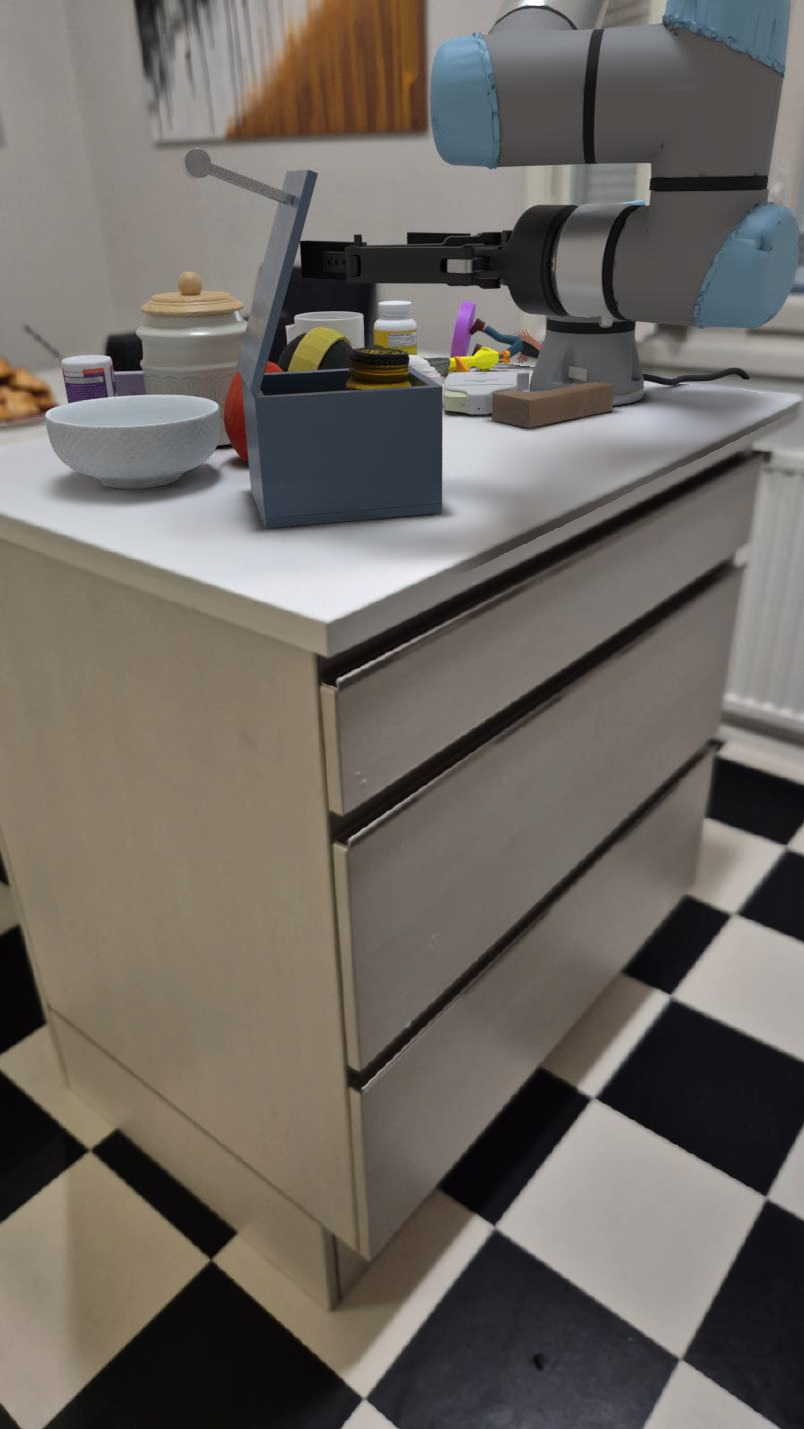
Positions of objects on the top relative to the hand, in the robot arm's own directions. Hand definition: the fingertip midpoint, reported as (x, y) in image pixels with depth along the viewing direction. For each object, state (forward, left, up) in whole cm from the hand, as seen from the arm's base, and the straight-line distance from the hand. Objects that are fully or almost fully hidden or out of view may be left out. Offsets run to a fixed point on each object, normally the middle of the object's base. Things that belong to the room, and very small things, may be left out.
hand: (359, 253), depth 85 cm
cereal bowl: (+21, -11, -21) cm, 32 cm away
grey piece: (-18, -59, -21) cm, 65 cm away
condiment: (+1, +2, -20) cm, 20 cm away
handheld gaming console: (-21, -29, -19) cm, 41 cm away
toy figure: (-35, -60, -19) cm, 72 cm away
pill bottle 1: (+25, -27, -11) cm, 38 cm away
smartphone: (+24, -37, -17) cm, 48 cm away
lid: (+7, +3, -2) cm, 8 cm away
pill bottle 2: (-16, -55, -21) cm, 61 cm away
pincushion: (-17, -41, -17) cm, 48 cm away
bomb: (+3, -35, -14) cm, 38 cm away
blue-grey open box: (+3, +3, -21) cm, 21 cm away
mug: (-3, -44, -21) cm, 49 cm away
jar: (+13, -28, -21) cm, 37 cm away
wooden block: (-22, -24, -19) cm, 38 cm away
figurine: (-29, -67, -16) cm, 75 cm away
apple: (+8, -15, -21) cm, 27 cm away
